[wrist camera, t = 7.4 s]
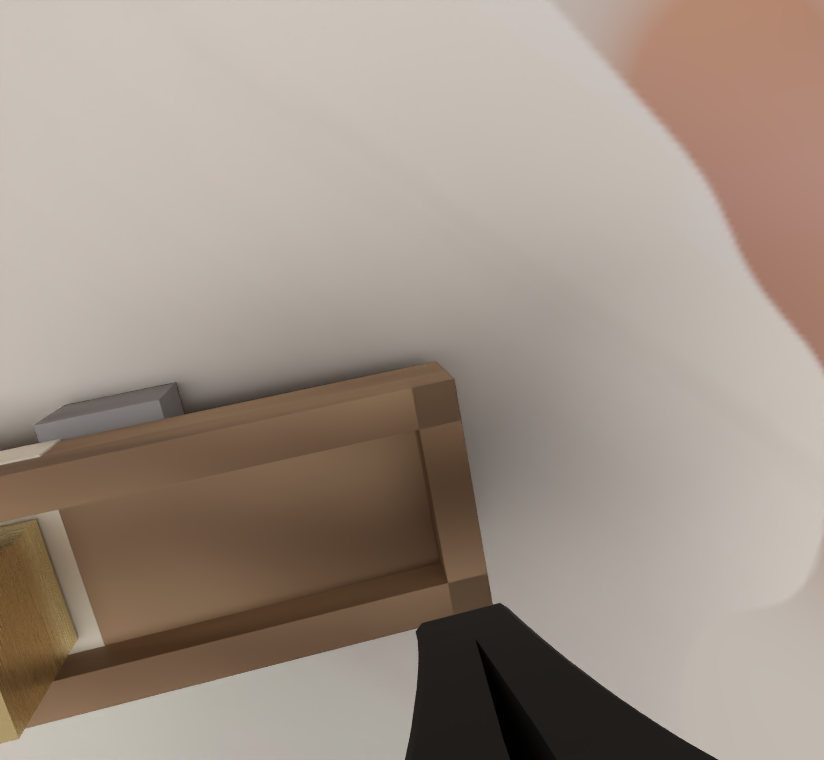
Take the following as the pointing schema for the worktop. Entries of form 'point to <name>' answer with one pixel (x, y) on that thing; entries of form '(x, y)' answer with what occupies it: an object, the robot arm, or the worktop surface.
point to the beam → (246, 528)
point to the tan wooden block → (28, 626)
